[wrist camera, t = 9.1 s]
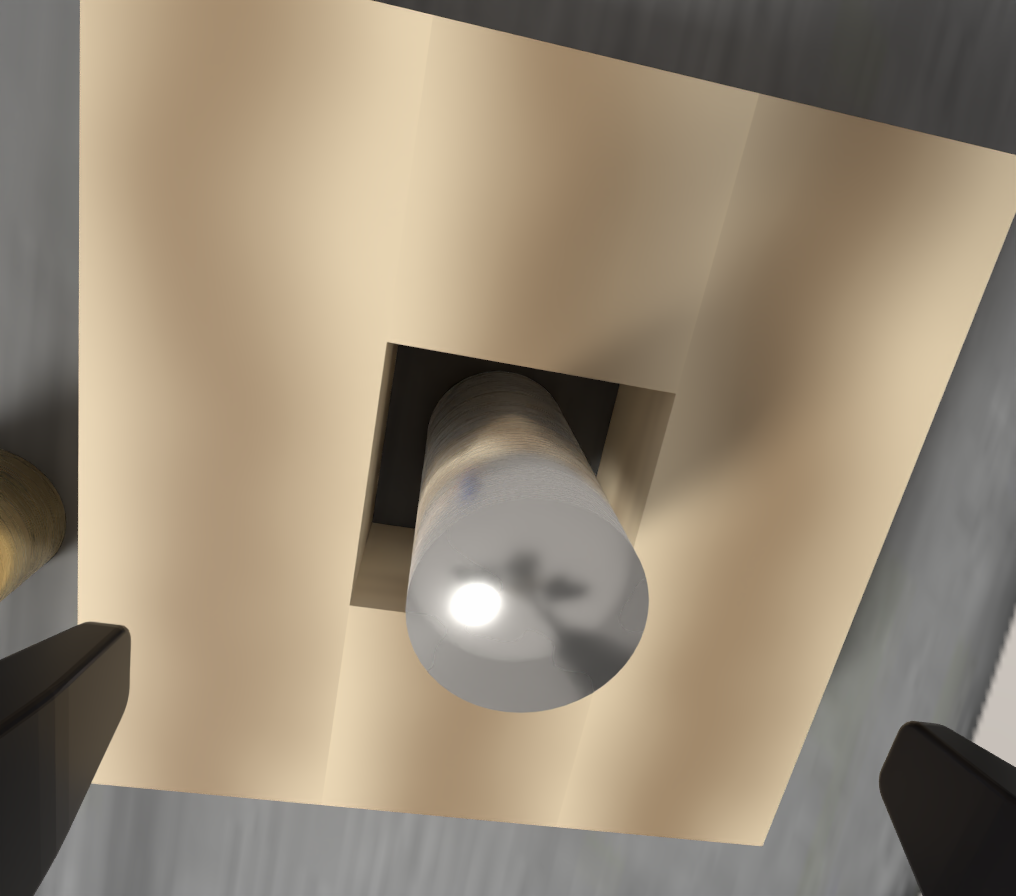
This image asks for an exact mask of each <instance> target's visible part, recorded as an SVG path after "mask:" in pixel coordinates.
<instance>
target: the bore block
mask: <svg viewBox="0 0 1016 896" xmlns="http://www.w3.org/2000/svg"><path fill="white" fill-rule="evenodd" d="M1015 213H1016V155H1014V154H1010V153H1005V152H1001V151H997V150H993V149H989V148H985V147H980V146H976V145H972V144H968V143H964V142H960V141H955V140H951V139H947V138H943V137H939V136H935V135H930V134H926V133H922V132H918V131H914V130H910V129H905V128H901V127H897V126H893V125H889V124H885V123H881V122H876V121H872V120H868V119H864V118H860V117H856V116H851V115H847V114H843V113H839V112H835V111H831V110H826V109H822V108H818V107H814V106H810V105H806V104H801V103H797V102H793V101H789V100H785V99H781V98H776V97H772V96H768V95H764V94H760V93H756V92H751V91H747V90H743V89H739V88H735V87H731V86H726V85H722V84H718V83H714V82H710V81H706V80H701V79H697V78H693V77H689V76H685V75H681V74H676V73H672V72H668V71H664V70H660V69H656V68H651V67H647V66H643V65H639V64H635V63H631V62H626V61H622V60H618V59H614V58H610V57H606V56H601V55H597V54H593V53H589V52H585V51H581V50H576V49H572V48H568V47H564V46H560V45H556V44H551V43H547V42H543V41H539V40H535V39H531V38H527V37H522V36H518V35H514V34H510V33H506V32H502V31H497V30H493V29H489V28H485V27H481V26H477V25H472V24H468V23H464V22H460V21H456V20H452V19H447V18H443V17H439V16H435V15H431V14H427V13H422V12H418V11H414V10H410V9H406V8H402V7H397V6H393V5H389V4H385V3H381V2H377V1H372V0H80V181H79V455H78V625H79V624H82V623H84V622H90V621H91V622H100V623H109V624H117V625H123V626H125V627H126V628H127V629H128V630H129V632H130V635H131V661H130V690H129V697H128V702H127V706H126V709H125V711H124V714H123V716H122V719H121V721H120V723H119V725H118V727H117V729H116V731H115V733H114V736H113V738H112V740H111V742H110V744H109V746H108V748H107V751H106V753H105V755H104V757H103V759H102V761H101V763H100V765H99V768H98V770H97V772H96V774H95V776H94V778H93V780H92V783H93V784H104V785H114V786H125V787H136V788H146V789H157V790H168V791H178V792H189V793H200V794H210V795H221V796H232V797H242V798H253V799H264V800H274V801H285V802H296V803H306V804H317V805H328V806H338V807H349V808H360V809H370V810H381V811H392V812H402V813H413V814H424V815H434V816H445V817H456V818H466V819H477V820H488V821H498V822H509V823H520V824H530V825H541V826H552V827H562V828H573V829H583V830H594V831H605V832H615V833H626V834H637V835H647V836H658V837H669V838H679V839H690V840H701V841H711V842H722V843H733V844H743V845H754V846H763V843H764V841H765V838H766V836H767V833H768V831H769V828H770V826H771V823H772V821H773V818H774V816H775V813H776V811H777V808H778V806H779V803H780V801H781V798H782V796H783V793H784V791H785V788H786V786H787V783H788V781H789V778H790V776H791V773H792V771H793V768H794V766H795V763H796V761H797V758H798V756H799V753H800V751H801V748H802V746H803V743H804V741H805V738H806V736H807V733H808V731H809V728H810V726H811V723H812V721H813V718H814V716H815V713H816V711H817V708H818V706H819V703H820V701H821V698H822V696H823V693H824V691H825V688H826V686H827V683H828V681H829V678H830V676H831V673H832V671H833V668H834V666H835V663H836V661H837V658H838V656H839V653H840V651H841V648H842V646H843V643H844V641H845V638H846V636H847V633H848V631H849V628H850V626H851V623H852V621H853V618H854V616H855V613H856V611H857V608H858V606H859V603H860V601H861V598H862V596H863V593H864V591H865V588H866V586H867V583H868V581H869V578H870V576H871V573H872V571H873V568H874V566H875V563H876V561H877V558H878V556H879V553H880V551H881V548H882V546H883V543H884V541H885V538H886V536H887V533H888V531H889V528H890V526H891V523H892V521H893V518H894V516H895V513H896V511H897V508H898V506H899V503H900V501H901V498H902V496H903V493H904V491H905V488H906V486H907V483H908V481H909V478H910V476H911V473H912V471H913V468H914V466H915V463H916V461H917V458H918V456H919V453H920V451H921V448H922V446H923V443H924V441H925V438H926V436H927V433H928V431H929V428H930V426H931V423H932V421H933V418H934V416H935V413H936V411H937V408H938V406H939V403H940V401H941V398H942V396H943V393H944V391H945V388H946V386H947V383H948V381H949V378H950V376H951V373H952V371H953V368H954V366H955V363H956V361H957V358H958V356H959V353H960V351H961V348H962V346H963V343H964V341H965V338H966V336H967V333H968V331H969V328H970V326H971V323H972V321H973V318H974V316H975V313H976V311H977V308H978V306H979V303H980V301H981V298H982V296H983V293H984V291H985V288H986V286H987V283H988V281H989V278H990V276H991V273H992V271H993V268H994V266H995V263H996V261H997V258H998V256H999V253H1000V251H1001V248H1002V246H1003V243H1004V241H1005V238H1006V236H1007V233H1008V231H1009V228H1010V226H1011V223H1012V221H1013V218H1014V216H1015ZM398 344H401V345H407V346H412V347H418V348H423V349H429V350H435V351H440V352H446V353H451V354H457V355H463V356H468V357H474V358H479V359H485V360H491V361H496V362H502V363H507V364H513V365H519V366H524V367H530V368H535V369H541V370H546V371H552V372H558V373H563V374H569V375H574V376H580V377H586V378H591V379H597V380H602V381H608V382H614V383H619V384H620V385H619V389H618V393H617V397H616V401H615V405H614V409H613V413H612V417H611V421H610V425H609V429H608V433H607V437H606V441H605V445H604V449H603V453H602V457H601V461H600V465H599V469H598V473H597V477H596V478H597V480H598V482H599V484H600V486H601V487H602V489H603V491H604V493H605V495H606V497H607V499H608V501H609V503H610V505H611V506H612V508H613V510H614V512H615V514H616V516H617V518H618V520H619V522H620V523H621V525H622V527H623V529H624V531H625V533H626V535H627V537H628V539H629V541H630V542H631V544H632V546H633V548H634V550H635V552H636V554H637V556H638V558H639V559H640V562H641V564H642V567H643V569H644V572H645V576H646V580H647V584H648V593H649V608H648V616H647V621H646V626H645V629H644V632H643V634H642V637H641V640H640V642H639V644H638V646H637V648H636V649H635V651H634V653H633V655H632V656H631V657H630V659H629V660H628V662H627V663H626V664H625V666H624V667H623V668H622V669H621V670H620V671H619V672H618V673H617V674H616V675H615V676H614V677H613V678H612V679H611V680H610V681H608V682H607V683H606V684H605V685H604V686H602V687H601V688H599V689H598V690H596V691H595V692H593V693H592V694H590V695H588V696H586V697H584V698H582V699H580V700H578V701H576V702H573V703H570V704H568V705H565V706H562V707H558V708H555V709H551V710H545V711H539V712H527V713H514V712H503V711H497V710H491V709H487V708H484V707H480V706H477V705H474V704H472V703H470V702H467V701H465V700H463V699H461V698H459V697H458V696H456V695H454V694H452V693H451V692H449V691H448V690H447V689H445V688H444V687H443V686H441V685H440V684H439V683H438V682H437V681H436V680H435V679H434V678H433V677H432V676H431V675H430V674H429V673H428V672H427V670H426V669H425V668H424V666H423V665H422V664H421V662H420V661H419V659H418V657H417V655H416V653H415V652H414V649H413V647H412V644H411V641H410V639H409V635H408V630H407V625H406V611H405V609H406V599H407V590H408V582H409V574H410V567H411V559H412V551H413V543H414V535H415V529H413V528H406V527H399V526H393V525H386V524H379V523H372V520H373V513H374V506H375V499H376V493H377V486H378V479H379V472H380V465H381V459H382V452H383V445H384V438H385V431H386V424H387V418H388V411H389V404H390V397H391V390H392V384H393V377H394V370H395V363H396V356H397V349H398Z"/></svg>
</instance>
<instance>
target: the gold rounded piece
mask: <svg viewBox="0 0 1016 896" xmlns="http://www.w3.org/2000/svg"><path fill="white" fill-rule="evenodd" d="M65 530H66V516H65V510H64V506H63V503H62V501H61V498H60V496H59V494H58V492H57V491H56V489H55V487H54V486H53V485H52V483H51V482H50V481H49V480H48V478H47V477H46V476H45V475H44V474H43V473H42V472H41V471H40V470H38V469H37V468H36V467H35V466H34V465H32V464H31V463H29V462H28V461H26V460H24V459H23V458H21V457H19V456H17V455H15V454H13V453H10V452H8V451H5V450H1V449H0V602H1V601H2V600H3V599H4V598H6V597H7V596H8V595H9V594H10V593H11V592H12V591H14V590H15V589H16V588H17V587H18V586H19V585H21V584H22V583H23V582H24V581H25V580H26V579H28V578H29V577H30V576H31V575H32V574H33V573H35V572H36V571H37V570H38V569H39V568H40V567H42V566H43V565H44V564H45V563H46V562H47V561H49V560H50V559H51V558H52V557H53V556H54V555H55V553H56V552H57V551H58V549H59V547H60V546H61V544H62V541H63V539H64V535H65Z"/></svg>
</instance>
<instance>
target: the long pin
mask: <svg viewBox="0 0 1016 896" xmlns="http://www.w3.org/2000/svg"><path fill="white" fill-rule="evenodd" d="M648 608H649V593H648V584H647V580H646V576H645V572H644V569H643V567H642V564H641V562H640V559H639V558H638V556H637V554H636V552H635V550H634V548H633V546H632V544H631V542H630V541H629V539H628V537H627V535H626V533H625V531H624V529H623V527H622V525H621V523H620V522H619V520H618V518H617V516H616V514H615V512H614V510H613V508H612V506H611V505H610V503H609V501H608V499H607V497H606V495H605V493H604V491H603V489H602V487H601V486H600V484H599V482H598V480H597V478H596V476H595V474H594V472H593V470H592V469H591V467H590V465H589V463H588V461H587V459H586V457H585V455H584V453H583V451H582V450H581V448H580V446H579V444H578V442H577V440H576V438H575V436H574V434H573V433H572V431H571V429H570V427H569V425H568V423H567V421H566V419H565V417H564V415H563V414H562V412H561V410H560V408H559V406H558V404H557V403H556V401H555V400H554V398H553V397H552V396H551V395H550V393H549V392H548V391H547V390H546V389H545V388H544V387H542V386H541V385H539V384H538V383H537V382H535V381H533V380H532V379H530V378H528V377H525V376H523V375H520V374H516V373H512V372H505V371H490V372H483V373H479V374H476V375H473V376H470V377H468V378H466V379H464V380H462V381H460V382H459V383H457V384H456V385H454V386H453V387H452V388H451V389H449V390H448V391H447V392H446V394H445V395H444V396H443V397H442V398H441V399H440V401H439V402H438V404H437V405H436V407H435V409H434V411H433V413H432V416H431V418H430V422H429V426H428V433H427V441H426V448H425V456H424V464H423V472H422V480H421V488H420V496H419V504H418V511H417V519H416V527H415V535H414V543H413V551H412V559H411V567H410V574H409V582H408V590H407V599H406V609H405V611H406V625H407V630H408V635H409V639H410V641H411V644H412V647H413V649H414V652H415V653H416V655H417V657H418V659H419V661H420V662H421V664H422V665H423V666H424V668H425V669H426V670H427V672H428V673H429V674H430V675H431V676H432V677H433V678H434V679H435V680H436V681H437V682H438V683H439V684H440V685H441V686H443V687H444V688H445V689H447V690H448V691H449V692H451V693H452V694H454V695H456V696H458V697H459V698H461V699H463V700H465V701H467V702H470V703H472V704H474V705H477V706H480V707H484V708H487V709H491V710H497V711H503V712H514V713H527V712H539V711H545V710H551V709H555V708H558V707H562V706H565V705H568V704H570V703H573V702H576V701H578V700H580V699H582V698H584V697H586V696H588V695H590V694H592V693H593V692H595V691H596V690H598V689H599V688H601V687H602V686H604V685H605V684H606V683H607V682H608V681H610V680H611V679H612V678H613V677H614V676H615V675H616V674H617V673H618V672H619V671H620V670H621V669H622V668H623V667H624V666H625V664H626V663H627V662H628V660H629V659H630V657H631V656H632V655H633V653H634V651H635V649H636V648H637V646H638V644H639V642H640V640H641V637H642V634H643V632H644V629H645V626H646V621H647V616H648Z"/></svg>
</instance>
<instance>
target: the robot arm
mask: <svg viewBox="0 0 1016 896" xmlns="http://www.w3.org/2000/svg"><path fill="white" fill-rule="evenodd" d="M130 661H131V635H130V632H129V630H128V629H127V628H126V627H125V626H123V625H117V624H109V623H100V622H91V621H90V622H84V623H82V624H79V625H77V626H75V627H72V628H70V629H68V630H66V631H63V632H61V633H59V634H57V635H54V636H52V637H50V638H48V639H46V640H43V641H41V642H39V643H37V644H34V645H32V646H30V647H28V648H25V649H23V650H21V651H19V652H17V653H14V654H12V655H10V656H8V657H5V658H3V659H1V660H0V896H34V894H35V892H36V891H37V889H38V887H39V886H40V884H41V882H42V881H43V879H44V877H45V875H46V874H47V872H48V870H49V868H50V867H51V865H52V863H53V861H54V859H55V858H56V856H57V854H58V852H59V850H60V848H61V846H62V844H63V842H64V840H65V838H66V836H67V834H68V832H69V830H70V827H71V825H72V823H73V821H74V819H75V817H76V815H77V812H78V810H79V808H80V806H81V804H82V802H83V800H84V797H85V795H86V793H87V791H88V789H89V787H90V785H91V783H92V780H93V778H94V776H95V774H96V772H97V770H98V768H99V765H100V763H101V761H102V759H103V757H104V755H105V753H106V751H107V748H108V746H109V744H110V742H111V740H112V738H113V736H114V733H115V731H116V729H117V727H118V725H119V723H120V721H121V719H122V716H123V714H124V711H125V709H126V706H127V702H128V697H129V690H130ZM879 788H880V793H881V796H882V799H883V801H884V804H885V806H886V808H887V811H888V813H889V816H890V818H891V821H892V823H893V825H894V828H895V830H896V833H897V835H898V837H899V840H900V842H901V845H902V847H903V850H904V852H905V854H906V857H907V859H908V862H909V864H910V866H911V869H912V871H913V874H914V876H915V878H916V881H917V883H918V886H919V888H920V891H921V893H922V895H923V896H1016V767H1014V766H1012V765H1011V764H1009V763H1007V762H1006V761H1004V760H1002V759H1000V758H999V757H997V756H995V755H994V754H992V753H990V752H989V751H987V750H985V749H983V748H982V747H980V746H978V745H977V744H975V743H973V742H971V741H970V740H968V739H966V738H965V737H963V736H961V735H959V734H958V733H956V732H954V731H953V730H951V729H949V728H947V727H945V726H943V725H940V724H935V723H926V722H918V721H910V722H907V723H905V724H904V725H903V726H902V727H901V728H900V730H899V731H898V734H897V736H896V738H895V740H894V742H893V745H892V747H891V749H890V751H889V753H888V756H887V758H886V760H885V762H884V764H883V767H882V769H881V772H880V776H879Z"/></svg>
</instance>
